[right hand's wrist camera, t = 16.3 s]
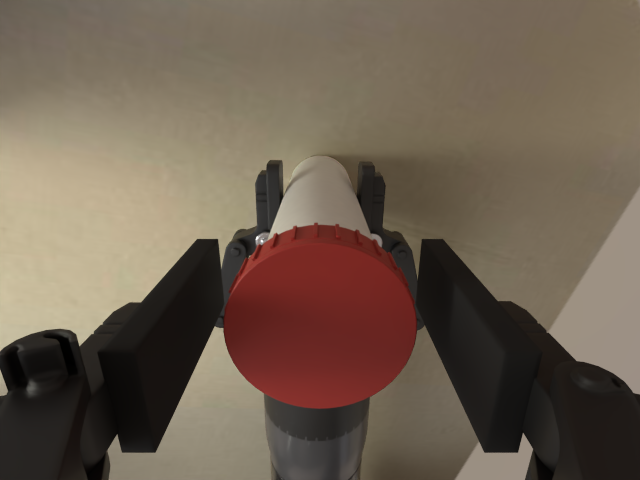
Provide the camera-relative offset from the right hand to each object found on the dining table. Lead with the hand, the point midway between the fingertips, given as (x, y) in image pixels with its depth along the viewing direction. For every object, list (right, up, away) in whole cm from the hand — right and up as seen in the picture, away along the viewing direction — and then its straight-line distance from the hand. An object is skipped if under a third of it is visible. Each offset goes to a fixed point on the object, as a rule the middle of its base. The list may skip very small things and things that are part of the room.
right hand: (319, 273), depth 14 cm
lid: (0, -1, -3) cm, 3 cm away
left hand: (0, +6, +7) cm, 9 cm away
